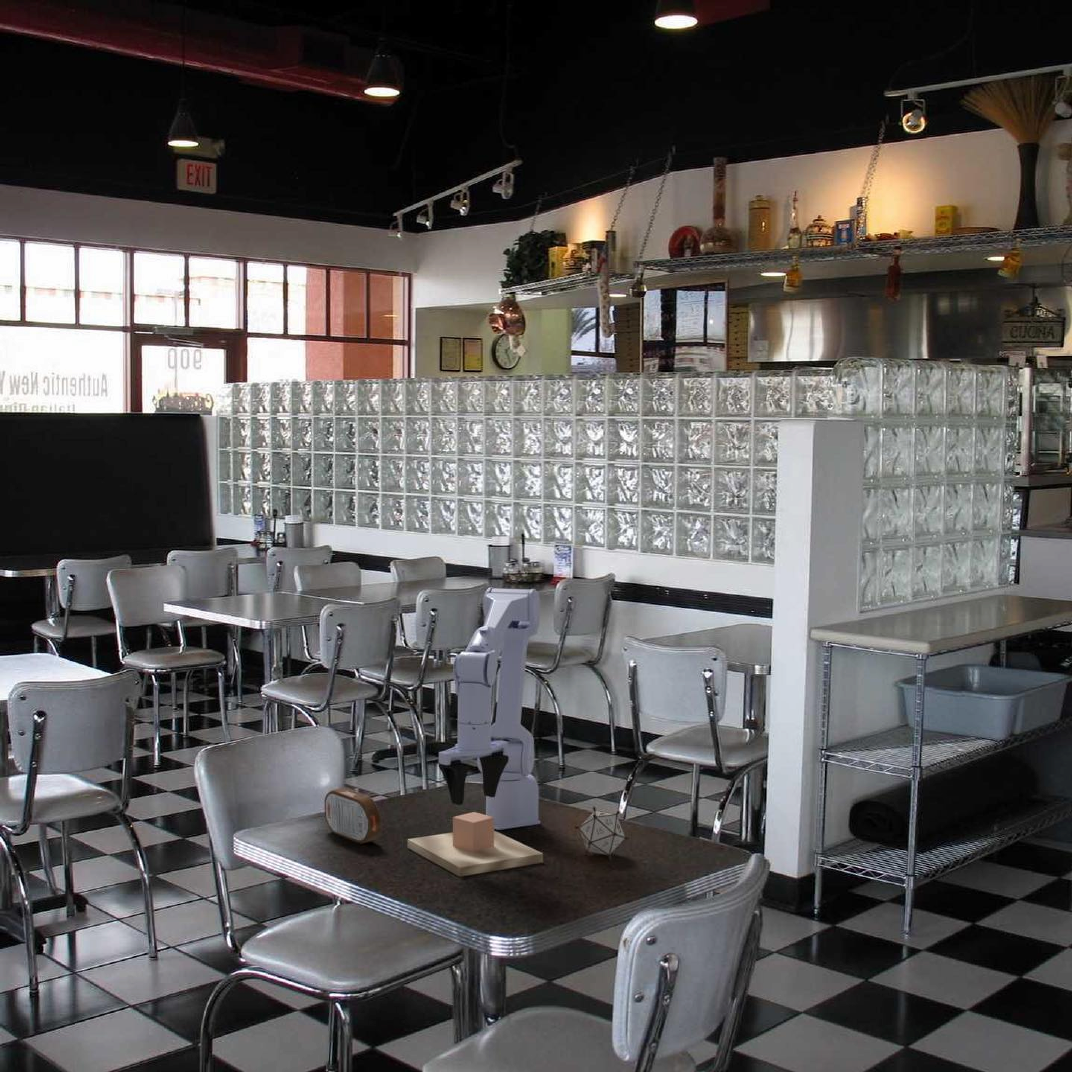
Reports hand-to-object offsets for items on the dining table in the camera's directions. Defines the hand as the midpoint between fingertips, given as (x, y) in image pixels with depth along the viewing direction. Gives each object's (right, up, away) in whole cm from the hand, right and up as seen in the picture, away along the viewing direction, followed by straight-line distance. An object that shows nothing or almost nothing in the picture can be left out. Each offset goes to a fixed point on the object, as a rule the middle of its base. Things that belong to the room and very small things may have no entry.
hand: (473, 800), depth 225 cm
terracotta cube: (0, -8, 0) cm, 8 cm away
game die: (+22, -10, +1) cm, 24 cm away
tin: (-22, -9, +9) cm, 26 cm away
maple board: (0, -9, 0) cm, 9 cm away
